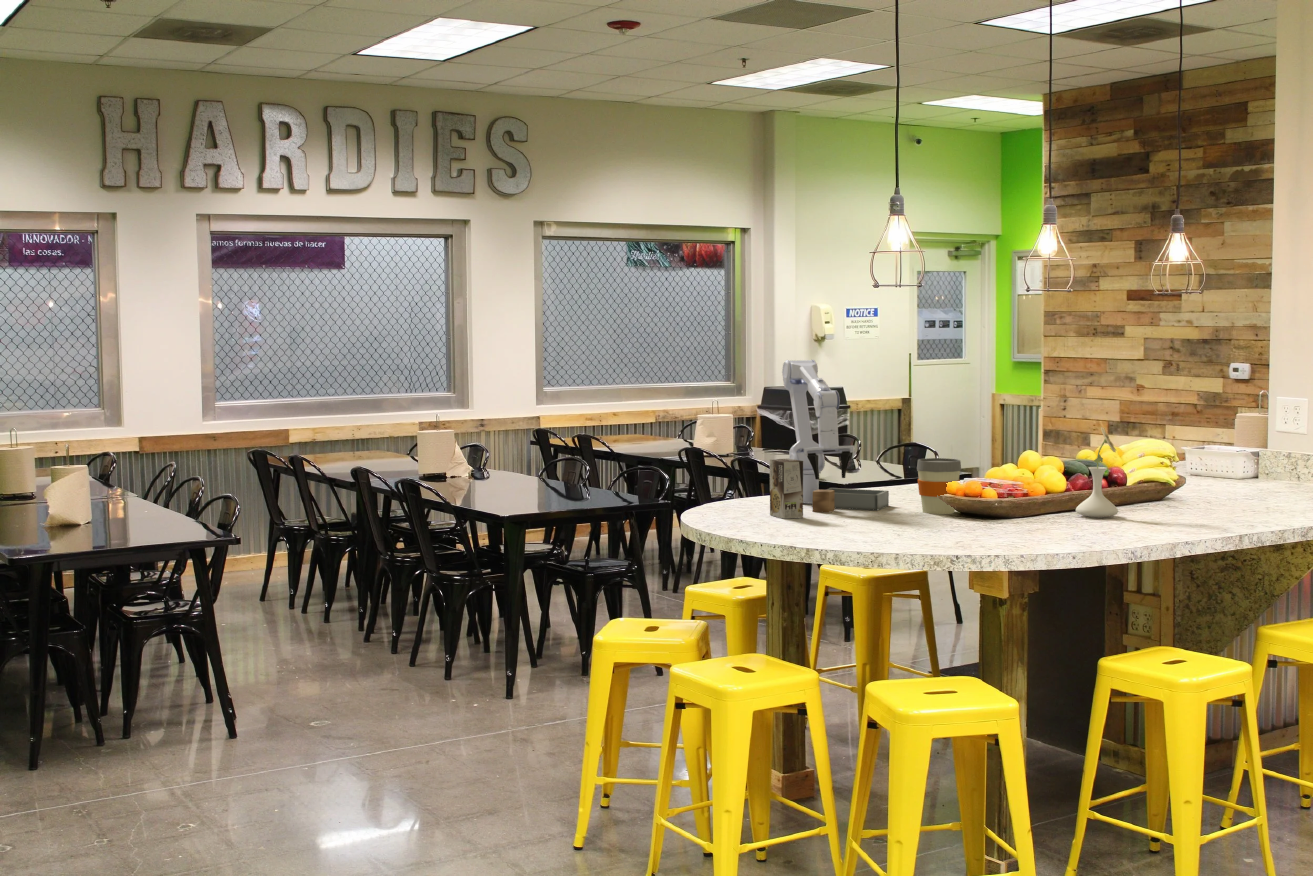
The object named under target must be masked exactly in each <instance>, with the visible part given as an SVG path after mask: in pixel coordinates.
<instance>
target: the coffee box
mask: <svg viewBox="0 0 1313 876" xmlns="http://www.w3.org/2000/svg"><path fill="white" fill-rule="evenodd" d="M769 516H771V517H772V516H773V517H776V518H781V519H783V520H786V519H800V518H801V519H803V518H804V503H803V461H800V460H794V459H789V458H776V459H769Z"/></svg>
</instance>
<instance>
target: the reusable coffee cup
mask: <svg viewBox="0 0 1313 876" xmlns="http://www.w3.org/2000/svg"><path fill="white" fill-rule="evenodd" d="M961 463H962V461H961V460H960V459H958V458H956V459H955V458H944V457H943V458H942V457H941V458H940V457H938V458H937V457H934V458H932V457H930V458H918V459H917V466H916V470H917V474H918V478H917V486H918V494H919V495H920V500H921V508H922V513H925V514H930V515H948V514H949V515H950V514H955V510H956V508H955V509H954V508H953V507H951V506H950V505H947V504H946V503H945V502H943V501H942V500H940V499H939V498H937V495H938V496H940V495H944V494H947V491H946V487H947V484H946V483H948V482H952V481H960V482H961V479H960V474H961V471H962V464H961Z"/></svg>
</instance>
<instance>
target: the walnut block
mask: <svg viewBox="0 0 1313 876" xmlns="http://www.w3.org/2000/svg"><path fill="white" fill-rule="evenodd" d="M834 497H835V490H827V489H819V490H815V491H813V504H812V512H813V513H825V514H826V513H832V512H834V511H835V508H834Z"/></svg>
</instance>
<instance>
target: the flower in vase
mask: <svg viewBox="0 0 1313 876" xmlns="http://www.w3.org/2000/svg"><path fill="white" fill-rule="evenodd" d="M1100 430H1101V433H1102V435H1103V437H1104V440H1103V442H1102V443H1101V445H1100V447H1099V450H1098V452H1097V457H1096V458H1095V459H1094V460H1093V462H1094V463H1095V464H1096V466H1088V470H1089V471H1090V473H1091V476H1092V484H1093V486H1092V493H1091V494H1090V495H1089V497H1087V498H1086V499H1084V500H1083V501H1082V502H1080V504H1078V506H1076V508H1075V513H1077V514H1079V515H1082V516H1083V517H1084V516H1085V517H1089V518H1108V517H1112V516H1113V517H1114V516H1116V515H1118V513H1119V509H1118V508H1117V506H1115V504H1113V502H1111V501H1110V500H1109V499H1108V498H1107V497H1105V496H1104V494H1103V491H1102V489H1103V488H1102V487H1103V485H1102V484H1103V482H1102V481H1103V478H1104V475H1105V472H1106V471H1107V470H1108V467H1104V466H1099V463H1100V462H1101V463H1103V462H1104V461H1103V460H1104V458H1103V457H1102V456H1101V454H1100V452H1101V450H1102V448H1103V446H1104V444H1107V445H1108V446H1109V448H1110V450H1111V451H1112V452H1113V453H1116V451H1117V449H1116V448H1115V445H1114V444H1113V442H1112V441H1111V439H1110V436H1109V434H1108V433H1107V432H1106V430H1105V428H1104V427H1102V426H1101V427H1100Z"/></svg>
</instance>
